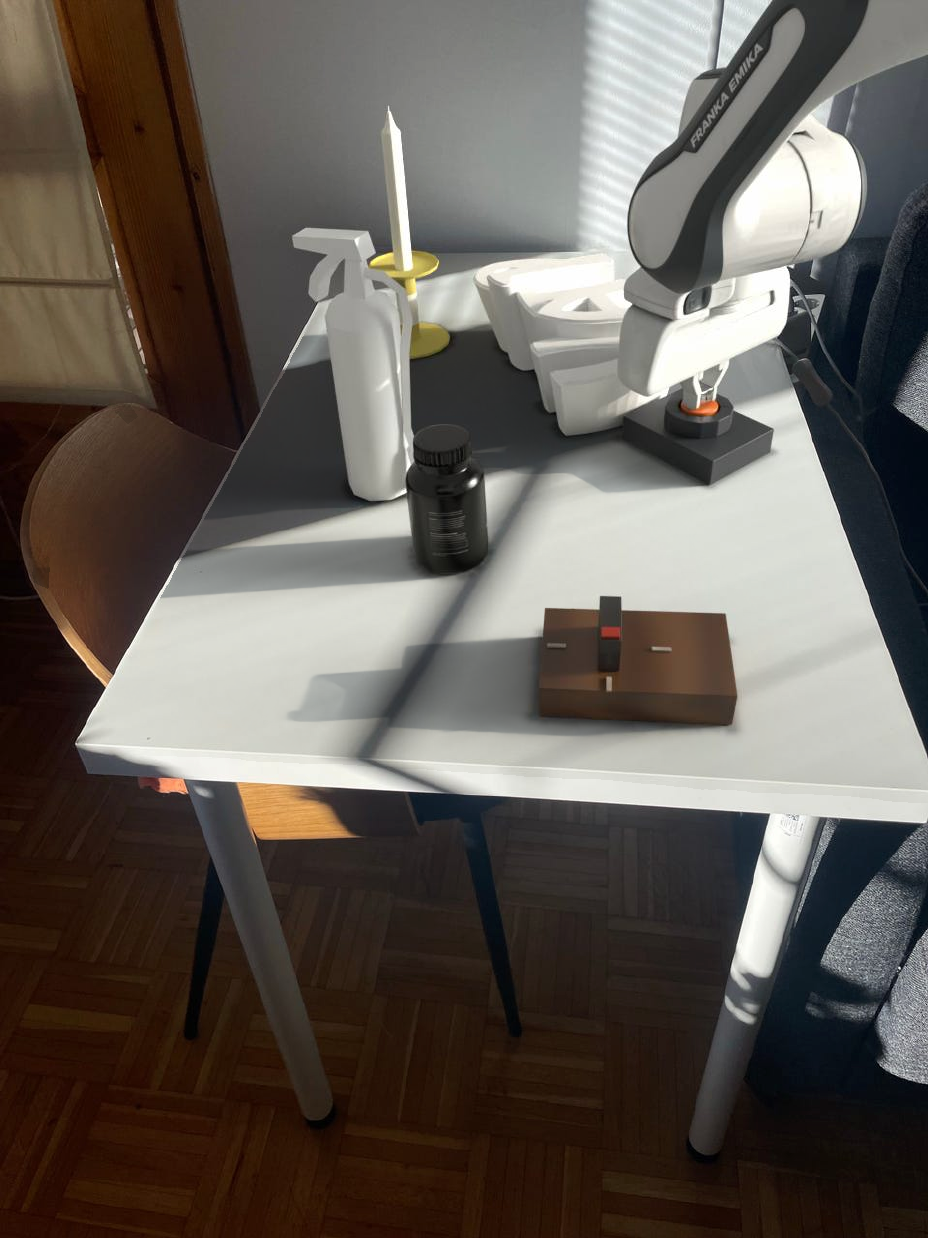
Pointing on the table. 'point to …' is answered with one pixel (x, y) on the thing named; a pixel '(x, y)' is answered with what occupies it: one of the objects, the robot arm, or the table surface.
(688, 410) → the orange push button
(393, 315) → the fire extinguisher
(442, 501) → the supplement bottle
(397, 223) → the candle
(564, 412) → the white wavy slab sculpture
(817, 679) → the table surface
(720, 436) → the push button base
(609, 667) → the black rectangular block
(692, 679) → the dial panel
